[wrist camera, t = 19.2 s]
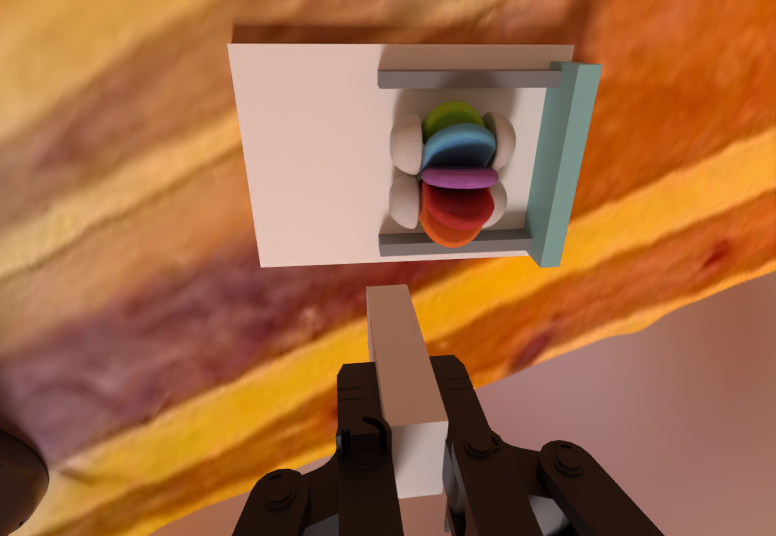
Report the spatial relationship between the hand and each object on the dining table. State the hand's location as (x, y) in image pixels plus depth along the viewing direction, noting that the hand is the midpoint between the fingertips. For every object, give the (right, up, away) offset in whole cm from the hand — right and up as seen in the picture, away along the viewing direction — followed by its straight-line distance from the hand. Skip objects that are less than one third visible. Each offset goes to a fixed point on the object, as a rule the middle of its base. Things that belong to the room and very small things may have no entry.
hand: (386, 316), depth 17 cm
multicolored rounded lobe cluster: (+4, +10, +16) cm, 19 cm away
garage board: (+1, +10, +17) cm, 20 cm away
